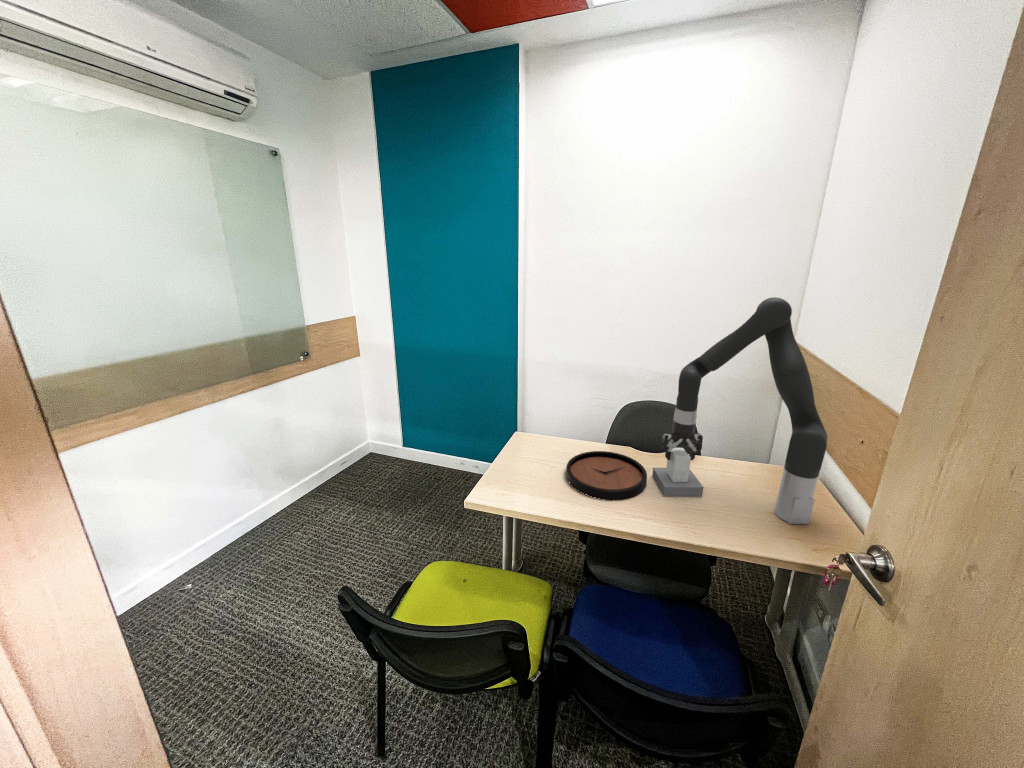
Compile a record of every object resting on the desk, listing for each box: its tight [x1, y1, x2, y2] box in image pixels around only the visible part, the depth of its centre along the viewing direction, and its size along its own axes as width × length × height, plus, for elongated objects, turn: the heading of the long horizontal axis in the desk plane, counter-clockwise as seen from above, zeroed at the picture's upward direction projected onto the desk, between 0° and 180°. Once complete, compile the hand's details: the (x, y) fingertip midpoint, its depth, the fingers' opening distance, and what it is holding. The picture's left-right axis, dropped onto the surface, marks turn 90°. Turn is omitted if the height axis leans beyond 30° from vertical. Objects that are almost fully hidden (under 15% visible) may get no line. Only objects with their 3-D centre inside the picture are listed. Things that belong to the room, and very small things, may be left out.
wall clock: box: [565, 450, 648, 501], centre depth 159 cm, size 31×4×31 cm
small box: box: [665, 447, 692, 482], centre depth 151 cm, size 8×6×10 cm
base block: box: [652, 467, 704, 498], centre depth 153 cm, size 14×14×4 cm
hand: (679, 459), depth 150 cm, fingers open, 8 cm apart
